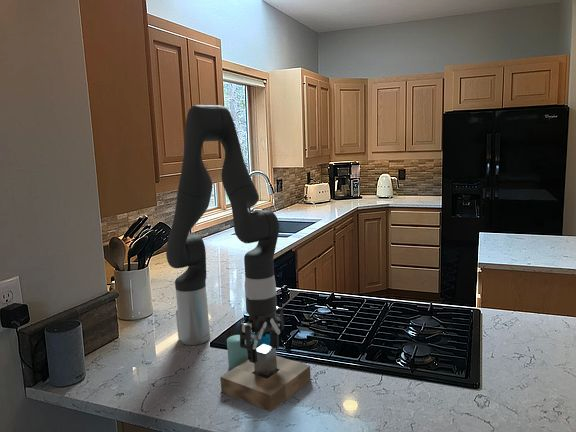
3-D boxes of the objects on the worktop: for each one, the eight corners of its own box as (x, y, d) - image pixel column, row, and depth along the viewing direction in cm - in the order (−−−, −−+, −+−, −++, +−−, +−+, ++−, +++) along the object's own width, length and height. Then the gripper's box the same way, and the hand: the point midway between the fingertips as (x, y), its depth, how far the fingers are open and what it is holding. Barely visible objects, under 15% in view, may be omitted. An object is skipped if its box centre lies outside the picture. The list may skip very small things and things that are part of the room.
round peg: (224, 368, 128) (222, 340, 127) (238, 359, 133) (236, 333, 131) (239, 373, 125) (237, 345, 123) (253, 364, 129) (251, 337, 128)
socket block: (221, 391, 116) (220, 376, 116) (262, 364, 129) (261, 351, 128) (271, 411, 107) (270, 395, 106) (310, 380, 119) (310, 365, 119)
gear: (277, 340, 140) (268, 328, 132) (278, 360, 136) (268, 349, 128) (242, 344, 142) (231, 333, 134) (241, 364, 138) (230, 353, 130)
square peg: (255, 387, 117) (253, 350, 116) (265, 380, 121) (263, 344, 119) (268, 391, 115) (265, 354, 113) (278, 384, 118) (275, 347, 117)
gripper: (267, 282, 121) (270, 340, 124) (229, 299, 110) (233, 362, 113) (290, 286, 117) (293, 347, 120) (253, 305, 106) (257, 371, 109)
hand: (264, 354), depth 116 cm, fingers open, 8 cm apart
